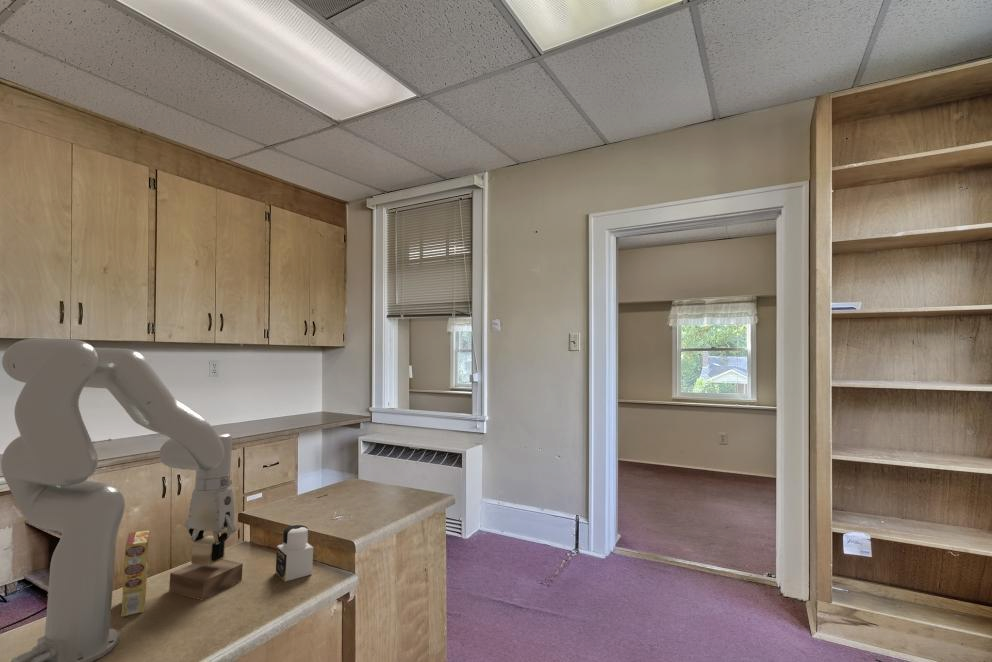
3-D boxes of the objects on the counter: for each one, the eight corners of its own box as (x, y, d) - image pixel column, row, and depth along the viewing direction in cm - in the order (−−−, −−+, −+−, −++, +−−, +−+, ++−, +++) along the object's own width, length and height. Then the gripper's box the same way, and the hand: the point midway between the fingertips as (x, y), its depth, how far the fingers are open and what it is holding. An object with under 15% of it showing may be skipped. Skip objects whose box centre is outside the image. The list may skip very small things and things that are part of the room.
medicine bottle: (275, 572, 128) (277, 526, 129) (302, 565, 133) (304, 521, 133) (284, 582, 123) (287, 534, 123) (312, 574, 127) (314, 528, 128)
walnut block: (201, 601, 113) (203, 581, 113) (169, 592, 117) (170, 573, 117) (241, 581, 123) (242, 563, 123) (210, 574, 127) (211, 556, 127)
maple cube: (208, 566, 117) (209, 544, 118) (191, 563, 118) (192, 542, 119) (224, 558, 122) (225, 537, 122) (208, 555, 123) (209, 535, 124)
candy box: (143, 612, 106) (148, 541, 107) (119, 618, 104) (124, 545, 105) (146, 596, 114) (150, 529, 115) (123, 600, 111) (128, 532, 112)
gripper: (252, 482, 123) (248, 555, 122) (197, 476, 127) (192, 547, 126) (229, 489, 116) (224, 568, 115) (172, 483, 120) (167, 559, 119)
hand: (208, 556), depth 120 cm, fingers closed on maple cube, 4 cm apart
